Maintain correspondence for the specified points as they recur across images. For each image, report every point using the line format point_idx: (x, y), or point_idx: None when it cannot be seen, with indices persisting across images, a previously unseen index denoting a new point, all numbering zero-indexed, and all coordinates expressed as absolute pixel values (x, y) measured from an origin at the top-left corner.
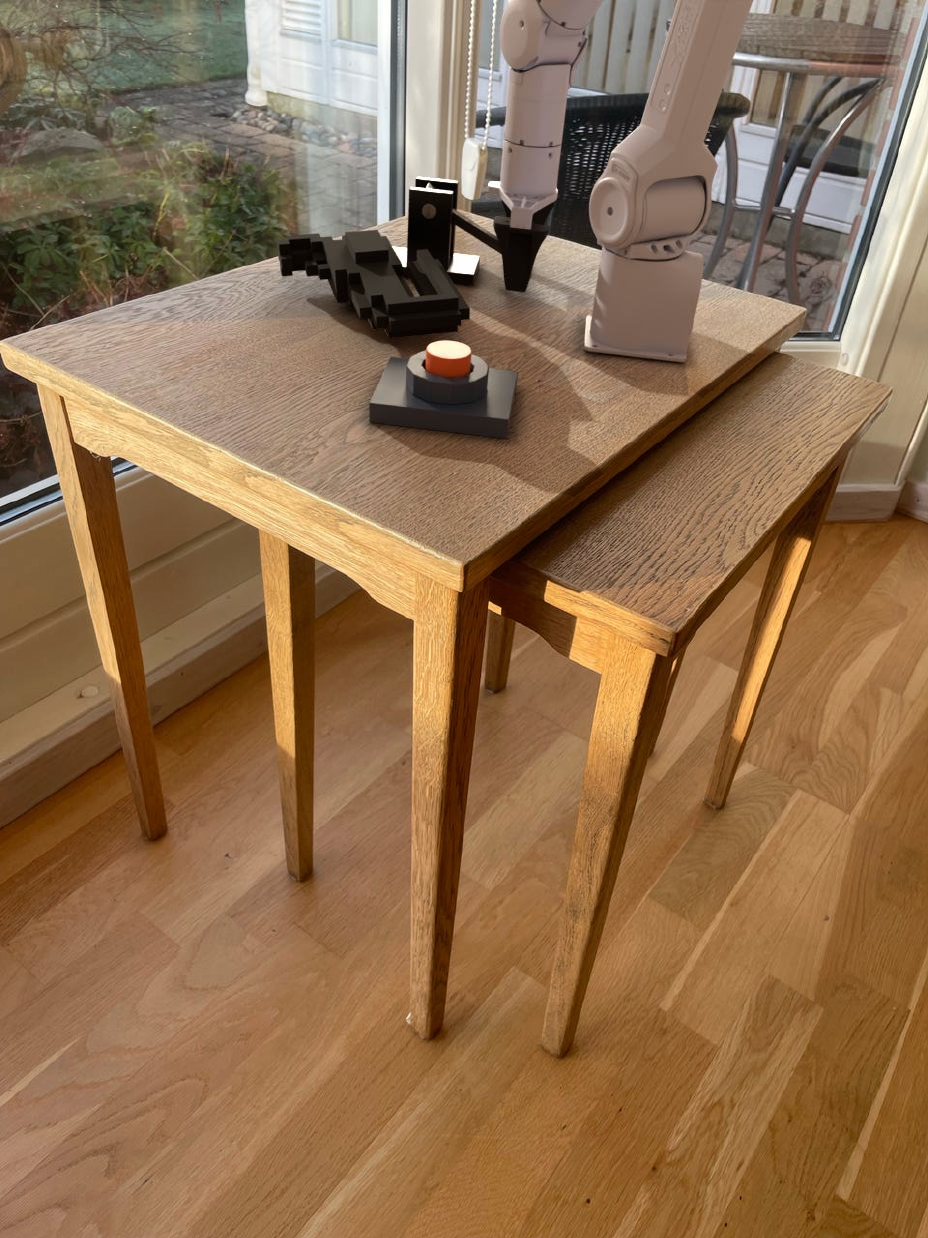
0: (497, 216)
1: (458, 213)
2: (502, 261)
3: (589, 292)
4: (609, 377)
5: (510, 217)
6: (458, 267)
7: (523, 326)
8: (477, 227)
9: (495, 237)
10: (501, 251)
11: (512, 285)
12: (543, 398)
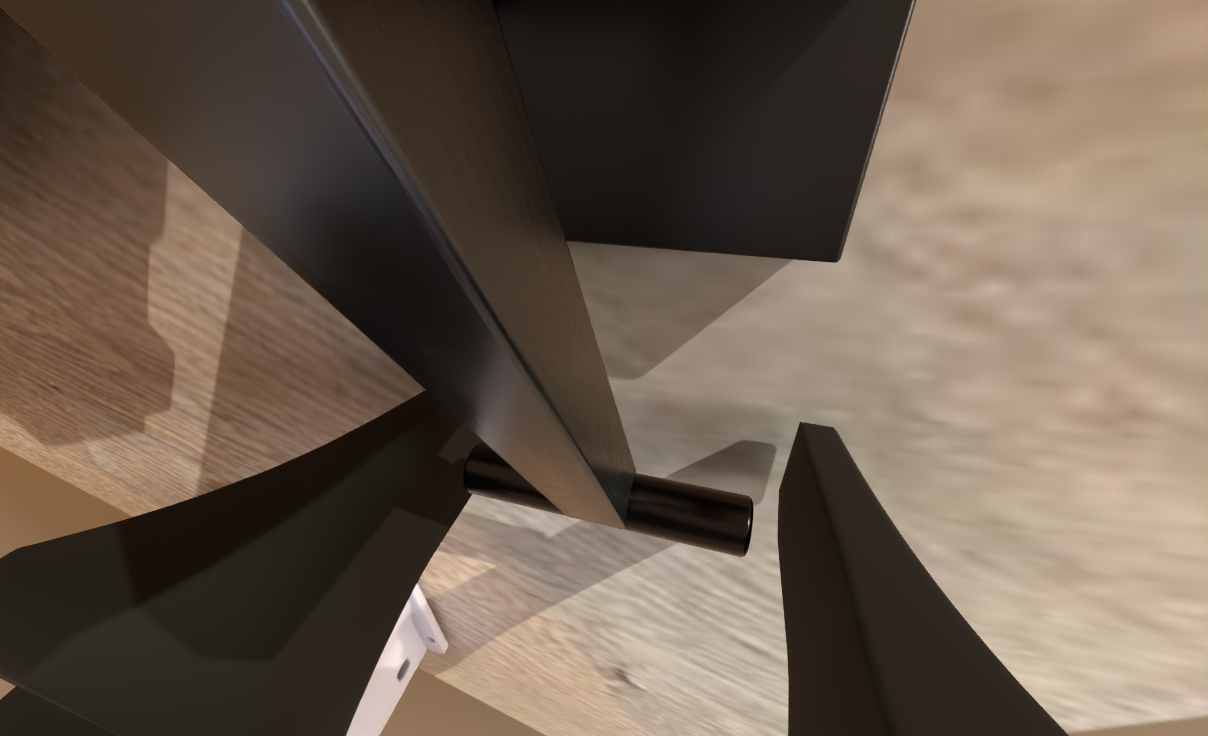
0: (43, 692)
1: (236, 106)
2: (343, 435)
3: (606, 586)
4: (186, 498)
5: (864, 726)
6: None
7: (255, 388)
8: (435, 397)
9: (550, 479)
10: (265, 472)
11: None
12: (15, 386)
